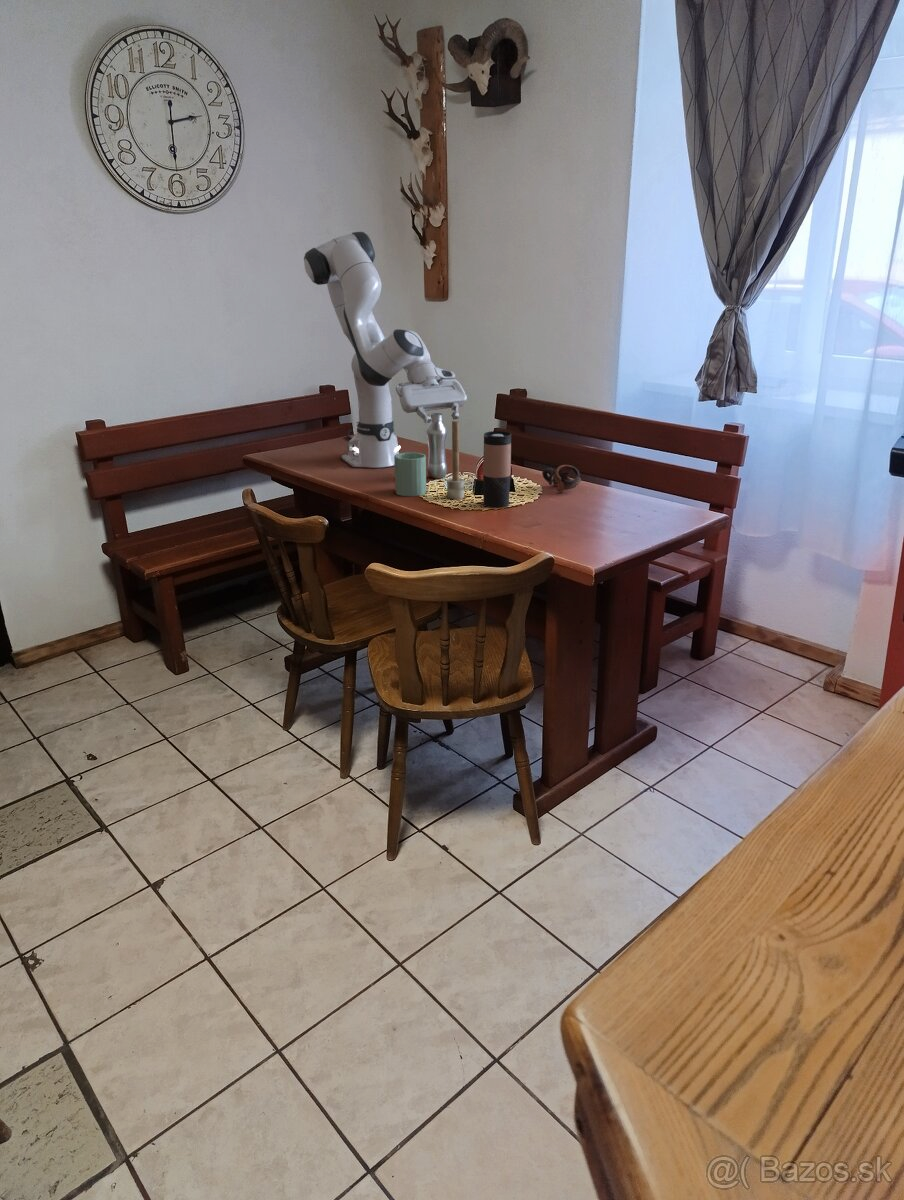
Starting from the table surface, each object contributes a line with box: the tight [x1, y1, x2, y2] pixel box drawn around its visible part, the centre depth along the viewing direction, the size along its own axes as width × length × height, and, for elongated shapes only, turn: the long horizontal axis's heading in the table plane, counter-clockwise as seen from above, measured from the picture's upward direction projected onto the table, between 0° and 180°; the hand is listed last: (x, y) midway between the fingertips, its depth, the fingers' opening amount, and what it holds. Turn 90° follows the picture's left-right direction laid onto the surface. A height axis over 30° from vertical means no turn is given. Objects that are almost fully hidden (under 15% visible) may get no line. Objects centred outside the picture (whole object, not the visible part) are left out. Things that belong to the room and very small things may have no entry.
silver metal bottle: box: [426, 412, 448, 479], centre depth 255 cm, size 6×7×20 cm
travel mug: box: [482, 430, 512, 509], centre depth 226 cm, size 8×8×20 cm
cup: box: [393, 451, 427, 497], centre depth 240 cm, size 9×9×11 cm
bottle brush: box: [446, 420, 465, 500], centre depth 233 cm, size 5×5×22 cm
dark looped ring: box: [541, 464, 582, 494], centre depth 244 cm, size 12×10×8 cm
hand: (442, 419), depth 233 cm, fingers open, 8 cm apart
